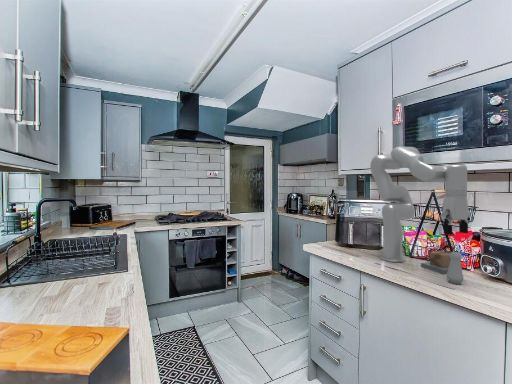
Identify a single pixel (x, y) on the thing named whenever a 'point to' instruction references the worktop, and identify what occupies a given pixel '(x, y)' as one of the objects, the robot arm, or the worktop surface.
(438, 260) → the walnut block
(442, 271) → the slab
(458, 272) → the salt shaker
